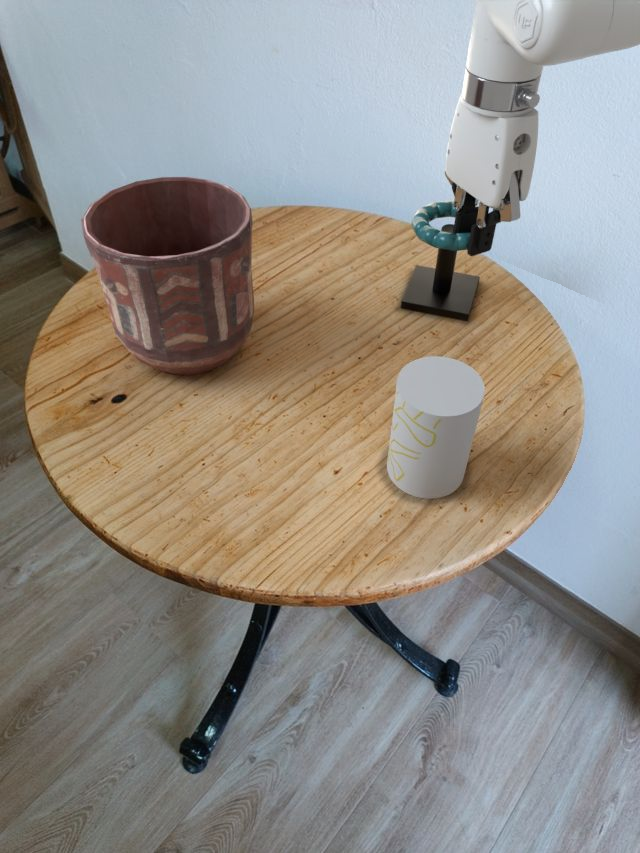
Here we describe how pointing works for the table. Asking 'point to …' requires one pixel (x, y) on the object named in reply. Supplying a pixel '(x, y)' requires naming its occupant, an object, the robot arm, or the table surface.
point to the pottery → (175, 270)
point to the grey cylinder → (433, 425)
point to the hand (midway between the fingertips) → (471, 245)
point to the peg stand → (441, 287)
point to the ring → (435, 236)
